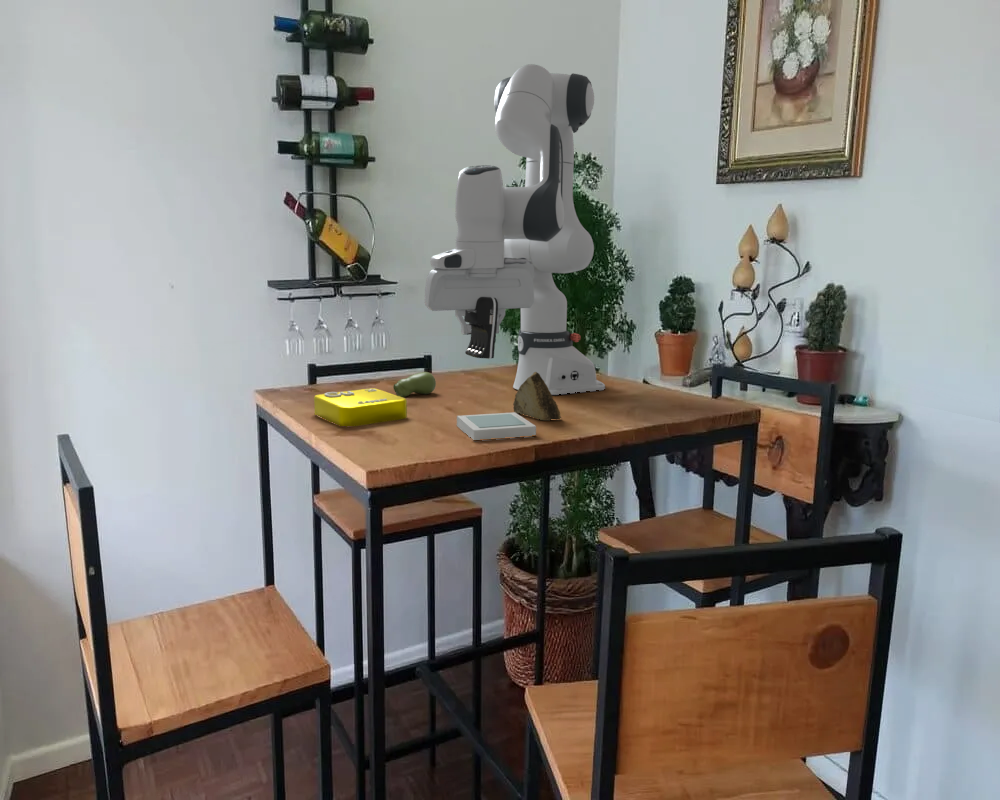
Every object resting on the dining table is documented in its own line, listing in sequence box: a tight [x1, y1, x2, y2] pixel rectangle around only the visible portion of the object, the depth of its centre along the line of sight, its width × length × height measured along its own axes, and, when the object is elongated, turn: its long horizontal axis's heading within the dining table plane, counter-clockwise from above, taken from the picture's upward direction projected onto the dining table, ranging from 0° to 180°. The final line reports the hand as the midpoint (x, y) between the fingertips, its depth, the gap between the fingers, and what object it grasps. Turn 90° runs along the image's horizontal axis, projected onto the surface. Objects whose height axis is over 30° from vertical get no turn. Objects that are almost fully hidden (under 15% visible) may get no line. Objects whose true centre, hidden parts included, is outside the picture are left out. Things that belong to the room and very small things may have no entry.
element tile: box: [313, 387, 408, 428], centre depth 160 cm, size 15×15×5 cm
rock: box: [512, 372, 562, 421], centre depth 161 cm, size 11×9×10 cm
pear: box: [393, 371, 437, 398], centre depth 182 cm, size 6×5×10 cm
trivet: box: [456, 411, 537, 441], centre depth 148 cm, size 12×12×2 cm
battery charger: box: [463, 297, 498, 360], centre depth 144 cm, size 7×4×11 cm, turn 30°
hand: (480, 333), depth 145 cm, fingers closed on battery charger, 4 cm apart
